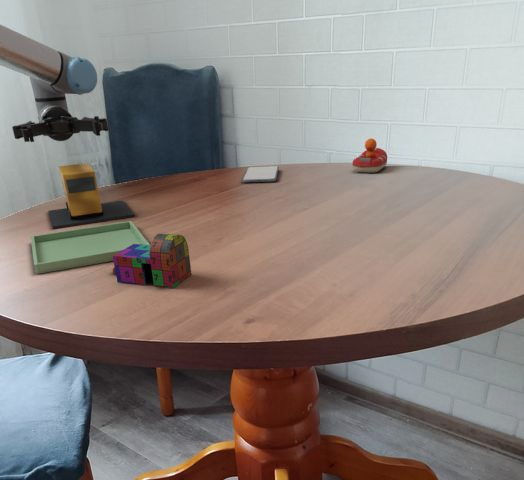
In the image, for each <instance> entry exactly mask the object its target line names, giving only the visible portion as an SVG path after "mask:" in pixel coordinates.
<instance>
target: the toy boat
mask: <svg viewBox="0 0 524 480" xmlns="http://www.w3.org/2000/svg"><path fill="white" fill-rule="evenodd" d="M377 146H378V145H377V141H376V139H374V138H368V139H366V140H365V143H364V148H365V150H364V151H363V152H361V154H360V155H359V156H357V157H355V158H354V159H353V160H352V164H351V165H352V169H353V170H354V172H356V173H368V174H370V173H371V174H373V173H378V172H380V171H381V170H382V169H383V168H385V167H386V166H387V163H388V154H387V152H386V151H385V150H384V149H382V148H380V147H377Z"/></svg>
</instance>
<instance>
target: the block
mask: <svg viewBox="0 0 524 480" xmlns="http://www.w3.org/2000/svg"><path fill="white" fill-rule="evenodd" d="M190 258H191V257H190V251H189V244H188V241H187V240H186V238H185V237H184V235H182V234H179V233H178V234H177V233H163V232H159V233H157V234H156V235H154V237H153V239H152V241H151V242H150V245H142V244H133V245H131V246H129V247H127V248H126V249H124V250H122V251H120V252H118V253H117V254H115V255H113V261H112V262H113V266H114V267H113V268H112V275H115V276H116V282H117V283H120V284H129V285H138V286H146V285H147V276H146V271H151V274H152V282H153V286H154V287H156V288H166V289H174V288H176V287H178V286H179V285H180V284H181V283H182V282H183V281H185V280H187V279H188V278H189V277H190V276H191V275H192V267H191V259H190Z"/></svg>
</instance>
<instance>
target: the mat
mask: <svg viewBox="0 0 524 480" xmlns="http://www.w3.org/2000/svg"><path fill="white" fill-rule="evenodd" d="M101 205H102V208H103V212H104V215H98V213H92V214H85V215H78V216H75V217H76V219H70V215H69V212H68V211H67V208H66V207H65V208H58V209H51V210H48V215H49V219H50V222H51V227H52V229H54V230H55V229H62V228H69V227H74V226H75V227H76V226H81V225H89V224H94V223H102V222H108V221H114V220H121V219H122V220H123V219H128V218H134V217H135V214H134V212H133V211H132V210H131V209H130V208H129V207H128V205H127V204H126V203H125V202H124V201H123V200H115V201H108V202H101Z"/></svg>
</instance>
